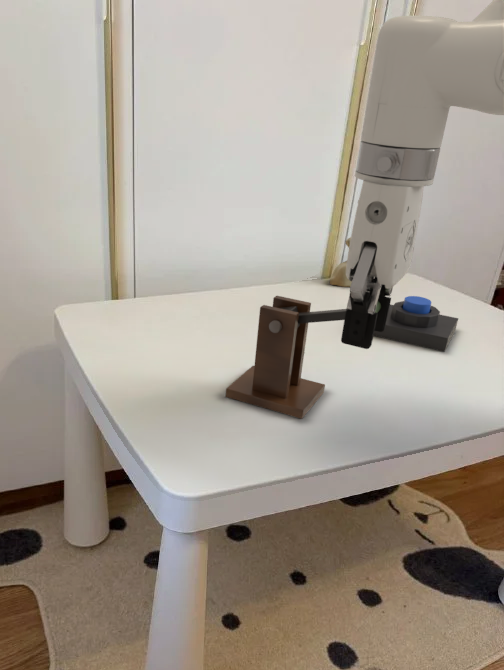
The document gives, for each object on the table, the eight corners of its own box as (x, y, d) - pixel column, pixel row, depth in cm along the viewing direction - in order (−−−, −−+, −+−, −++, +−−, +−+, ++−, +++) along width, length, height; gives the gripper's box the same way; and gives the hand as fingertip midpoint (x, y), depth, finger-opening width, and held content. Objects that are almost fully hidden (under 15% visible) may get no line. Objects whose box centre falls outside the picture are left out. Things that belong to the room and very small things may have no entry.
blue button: (431, 309, 99) (433, 299, 98) (426, 317, 96) (428, 306, 95) (405, 304, 101) (407, 294, 100) (399, 311, 98) (402, 301, 97)
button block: (455, 331, 102) (461, 307, 100) (444, 351, 94) (450, 326, 92) (381, 315, 106) (385, 292, 104) (365, 334, 98) (369, 309, 97)
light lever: (382, 315, 71) (379, 294, 70) (370, 329, 67) (367, 307, 66) (282, 323, 77) (279, 304, 76) (266, 336, 73) (263, 316, 72)
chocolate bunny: (371, 289, 119) (381, 235, 114) (329, 285, 119) (337, 232, 115) (368, 280, 124) (377, 228, 119) (327, 277, 124) (335, 225, 119)
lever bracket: (324, 392, 80) (338, 304, 74) (301, 419, 74) (315, 324, 68) (252, 373, 84) (260, 287, 78) (225, 396, 78) (232, 305, 72)
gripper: (417, 179, 53) (376, 372, 62) (450, 160, 67) (413, 321, 76) (332, 168, 56) (304, 354, 65) (380, 152, 70) (352, 308, 78)
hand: (363, 335), depth 70 cm, fingers closed on light lever, 5 cm apart
